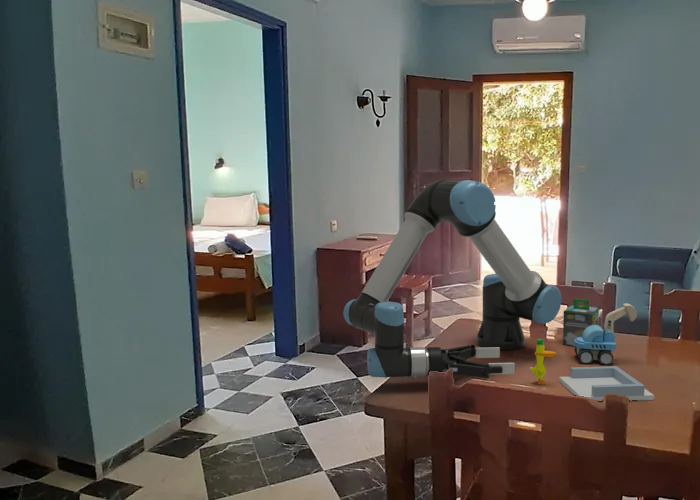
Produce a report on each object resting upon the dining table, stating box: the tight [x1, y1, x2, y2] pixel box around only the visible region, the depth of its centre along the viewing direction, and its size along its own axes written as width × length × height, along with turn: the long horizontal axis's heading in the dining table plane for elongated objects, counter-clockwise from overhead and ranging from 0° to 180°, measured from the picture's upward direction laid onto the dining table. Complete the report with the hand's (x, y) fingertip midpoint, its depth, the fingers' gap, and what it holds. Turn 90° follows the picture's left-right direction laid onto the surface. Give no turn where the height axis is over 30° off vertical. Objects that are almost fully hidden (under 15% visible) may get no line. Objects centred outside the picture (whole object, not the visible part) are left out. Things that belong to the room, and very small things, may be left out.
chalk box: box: [562, 298, 600, 347], centre depth 202 cm, size 9×9×15 cm
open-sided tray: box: [558, 365, 655, 402], centre depth 161 cm, size 18×15×4 cm
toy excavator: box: [574, 303, 638, 366], centre depth 184 cm, size 9×17×17 cm, turn 78°
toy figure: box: [529, 338, 558, 386], centre depth 166 cm, size 7×4×12 cm, turn 79°
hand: (506, 360), depth 166 cm, fingers open, 13 cm apart
